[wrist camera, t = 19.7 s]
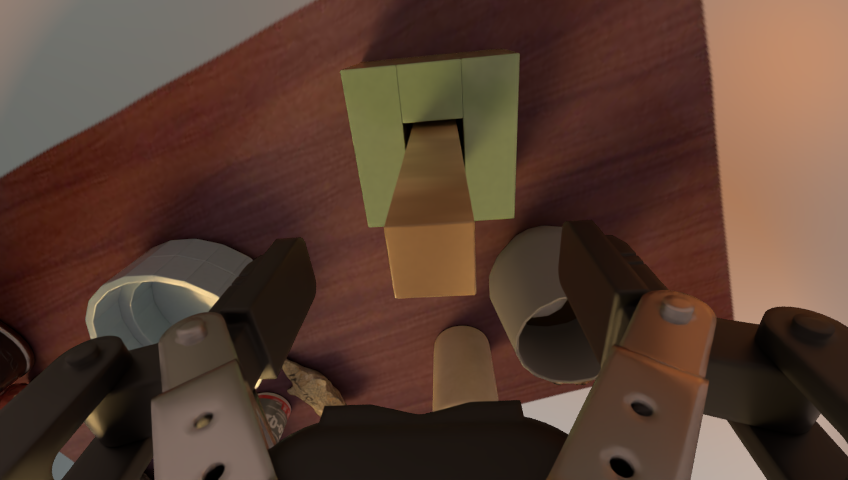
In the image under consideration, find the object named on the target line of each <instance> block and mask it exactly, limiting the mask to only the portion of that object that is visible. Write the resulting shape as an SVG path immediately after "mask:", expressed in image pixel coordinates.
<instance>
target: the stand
mask: <svg viewBox="0 0 848 480" xmlns="http://www.w3.org/2000/svg"><path fill="white" fill-rule="evenodd" d="M519 64H520V54H519V53H516V52H513V51H509V50H506V49H502V48H501V49H491V50H481V51H470V52H460V53H450V54H440V55H429V56H419V57H409V58H398V59H388V60H378V61H367V62H360V63H358V64H355V65H353V66H350V67H348V68H345V69H343V70H340V73H341V79H342V84H343V90H344V95H345V101H346V106H347V112H348V117H349V123H350V128H351V134H352V139H353V145H354V150H355V156H356V161H357V167H358V172H359V178H360V183H361V189H362V195H363V200H364V206H365V211H366V217H367V222H368V227H384V225H385V222H386V218H387V215H388V211H389V208H390V204H391V201H392V197H393V193H394V190H395V186H396V183H397V179H398V176H399V172H400V169H401V165H402V162H403V158H404V155H405V151H406V148H407V144H408V141H409V137H410V133H411V130H412V123H413V122H425V121H437V120H449V119H459V123H460V145H461V150H462V156H463V161H464V167H465V172H466V178H467V183H468V188H469V194H470V199H471V205H472V210H473V215H474V221H479V220H495V219H511V218H514V217H515V186H516V156H517V125H518V95H519Z"/></svg>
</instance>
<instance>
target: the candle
mask: <svg viewBox="0 0 848 480" xmlns="http://www.w3.org/2000/svg"><path fill="white" fill-rule="evenodd" d="M477 401H498V395H497V388H496V382H495V376H494V369H493V363H492V357H491V351H490V345H489V342H488V339H487V337H486V336H485V335H484V334H483V333H482V332H481V331H480V330H478V329H476V328H473V327H469V326H455V327H451V328H448V329H446V330H445V331H443V332H442V333H441V334H440V335H439V336H438V337H437V339H436V341H435V345H434V375H433V412H434V411H437V410H441V409H445V408H449V407H453V406H456V405H460V404H464V403H468V402H477Z"/></svg>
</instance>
